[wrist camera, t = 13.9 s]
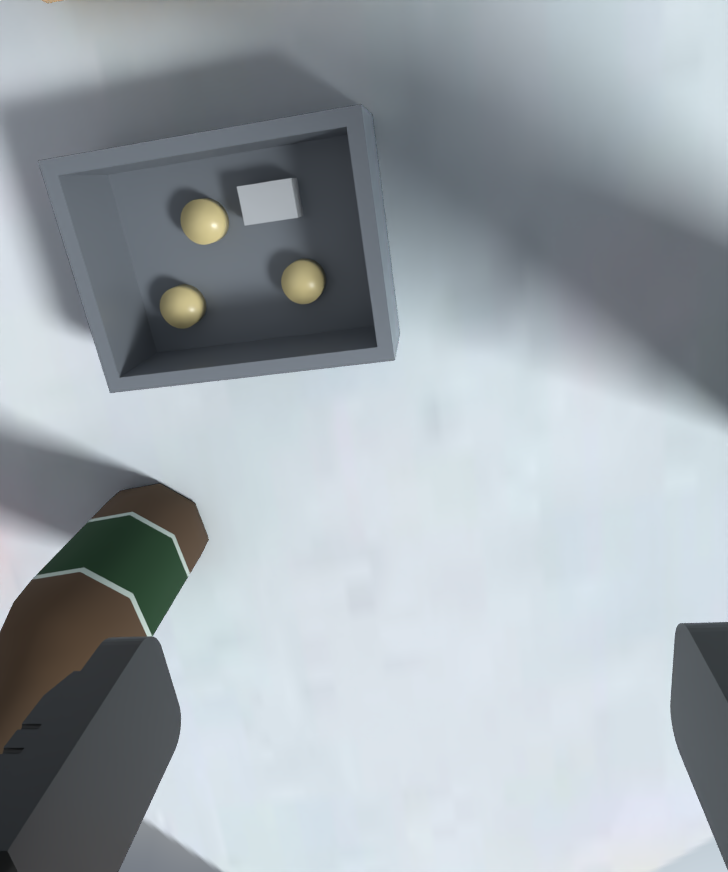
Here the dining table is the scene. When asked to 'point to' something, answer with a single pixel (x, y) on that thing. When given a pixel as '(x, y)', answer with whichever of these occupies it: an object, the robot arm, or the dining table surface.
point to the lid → (50, 0)
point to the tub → (231, 250)
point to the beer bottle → (97, 593)
